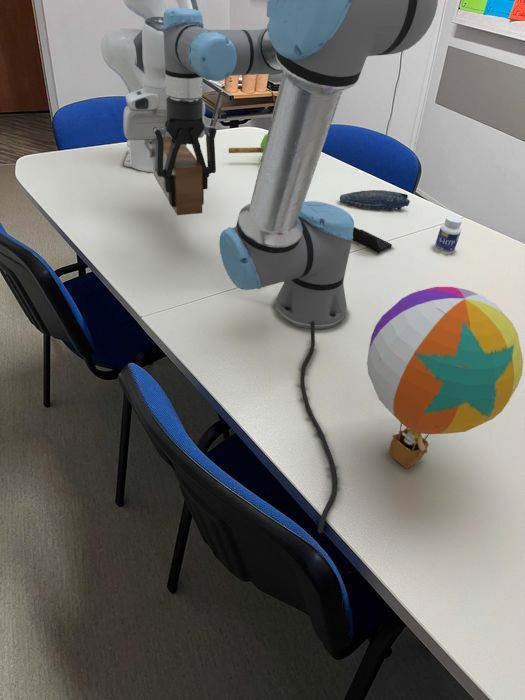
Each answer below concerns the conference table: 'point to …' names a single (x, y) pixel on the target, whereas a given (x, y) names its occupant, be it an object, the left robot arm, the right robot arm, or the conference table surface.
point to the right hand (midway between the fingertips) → (186, 203)
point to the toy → (442, 365)
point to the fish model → (376, 199)
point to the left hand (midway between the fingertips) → (166, 156)
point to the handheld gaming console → (370, 241)
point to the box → (183, 179)
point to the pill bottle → (448, 235)
